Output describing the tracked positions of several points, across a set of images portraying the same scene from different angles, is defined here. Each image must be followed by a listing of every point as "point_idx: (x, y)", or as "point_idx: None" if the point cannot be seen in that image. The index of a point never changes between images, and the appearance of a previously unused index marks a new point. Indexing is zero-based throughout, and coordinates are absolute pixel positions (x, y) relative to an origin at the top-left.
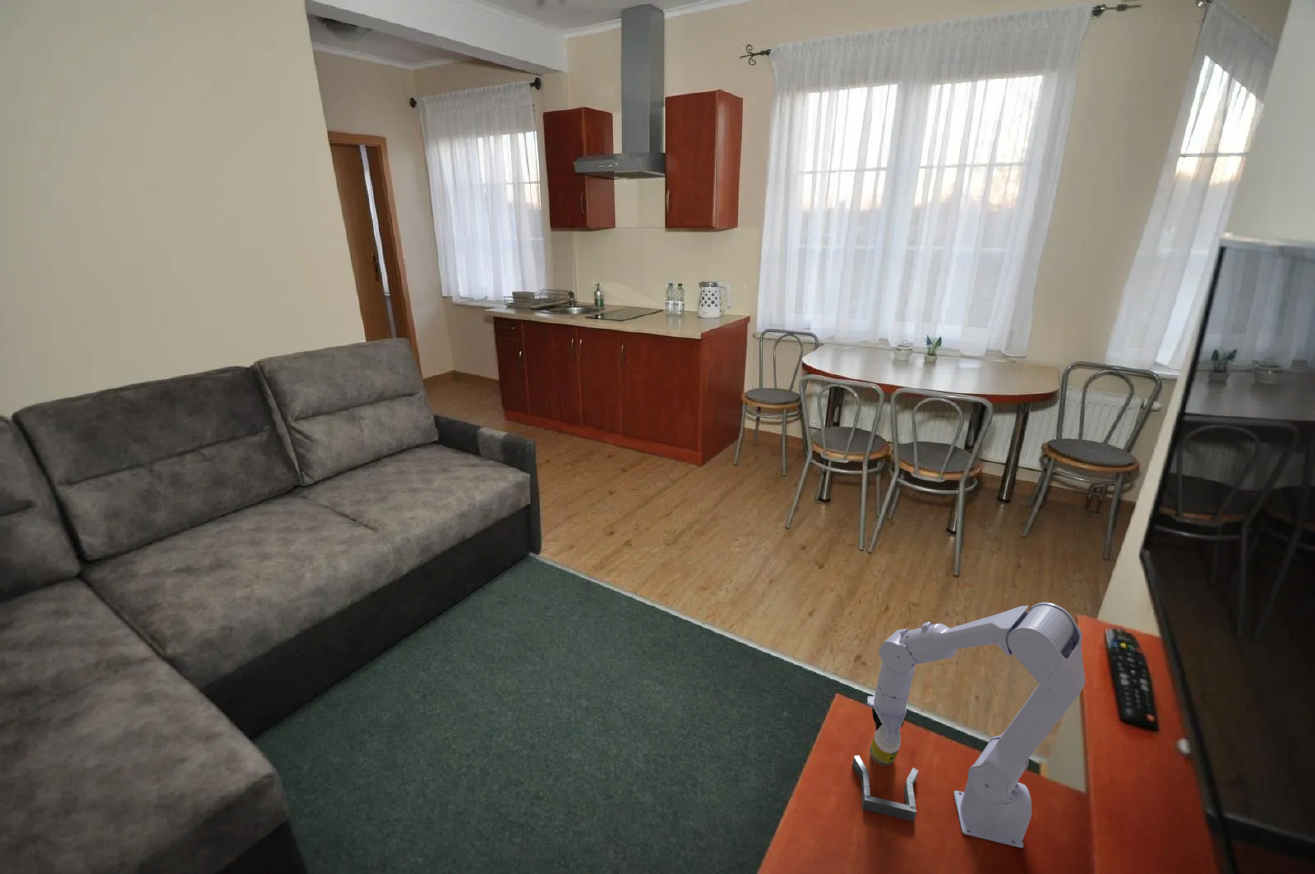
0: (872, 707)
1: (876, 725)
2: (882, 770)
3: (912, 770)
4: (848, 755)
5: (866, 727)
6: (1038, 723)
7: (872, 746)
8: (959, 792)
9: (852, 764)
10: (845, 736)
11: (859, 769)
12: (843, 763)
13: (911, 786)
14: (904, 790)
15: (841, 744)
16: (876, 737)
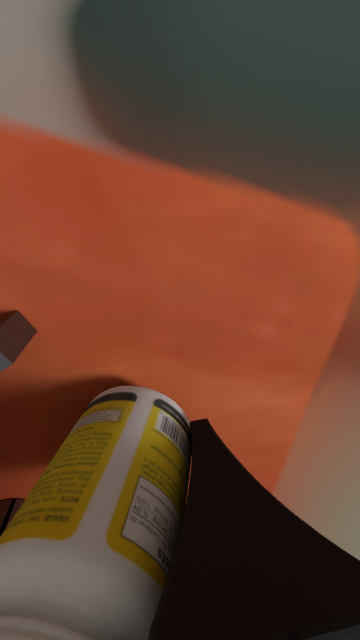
0: (332, 637)
1: (178, 540)
2: (66, 427)
3: None
4: (74, 286)
5: (271, 348)
6: None
7: (83, 443)
8: None
9: (14, 313)
10: (190, 261)
11: None
12: (7, 266)
13: None
14: (2, 507)
15: (130, 245)
16: (27, 579)
